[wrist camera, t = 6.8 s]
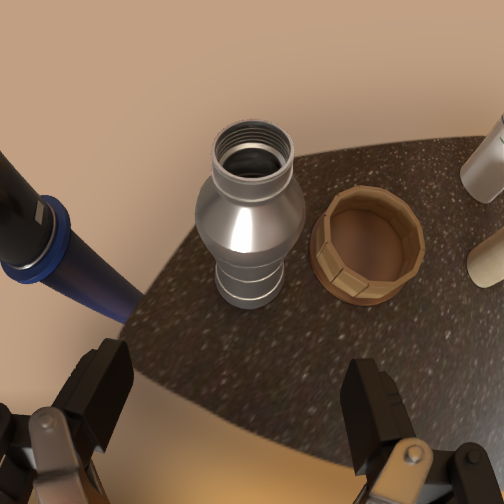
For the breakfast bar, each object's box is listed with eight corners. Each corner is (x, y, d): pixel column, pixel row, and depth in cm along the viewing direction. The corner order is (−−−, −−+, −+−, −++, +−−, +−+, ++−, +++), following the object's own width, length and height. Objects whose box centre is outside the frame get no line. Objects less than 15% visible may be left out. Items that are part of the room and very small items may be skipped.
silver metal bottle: (292, 268, 32) (347, 129, 13) (261, 326, 30) (286, 243, 11) (238, 240, 33) (230, 84, 14) (204, 294, 31) (146, 174, 12)
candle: (497, 284, 31) (547, 257, 22) (472, 291, 31) (525, 263, 22) (487, 247, 33) (532, 213, 24) (461, 250, 33) (508, 214, 24)
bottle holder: (308, 304, 31) (319, 291, 26) (307, 200, 35) (315, 175, 30) (412, 306, 30) (435, 294, 26) (400, 210, 35) (418, 188, 30)
